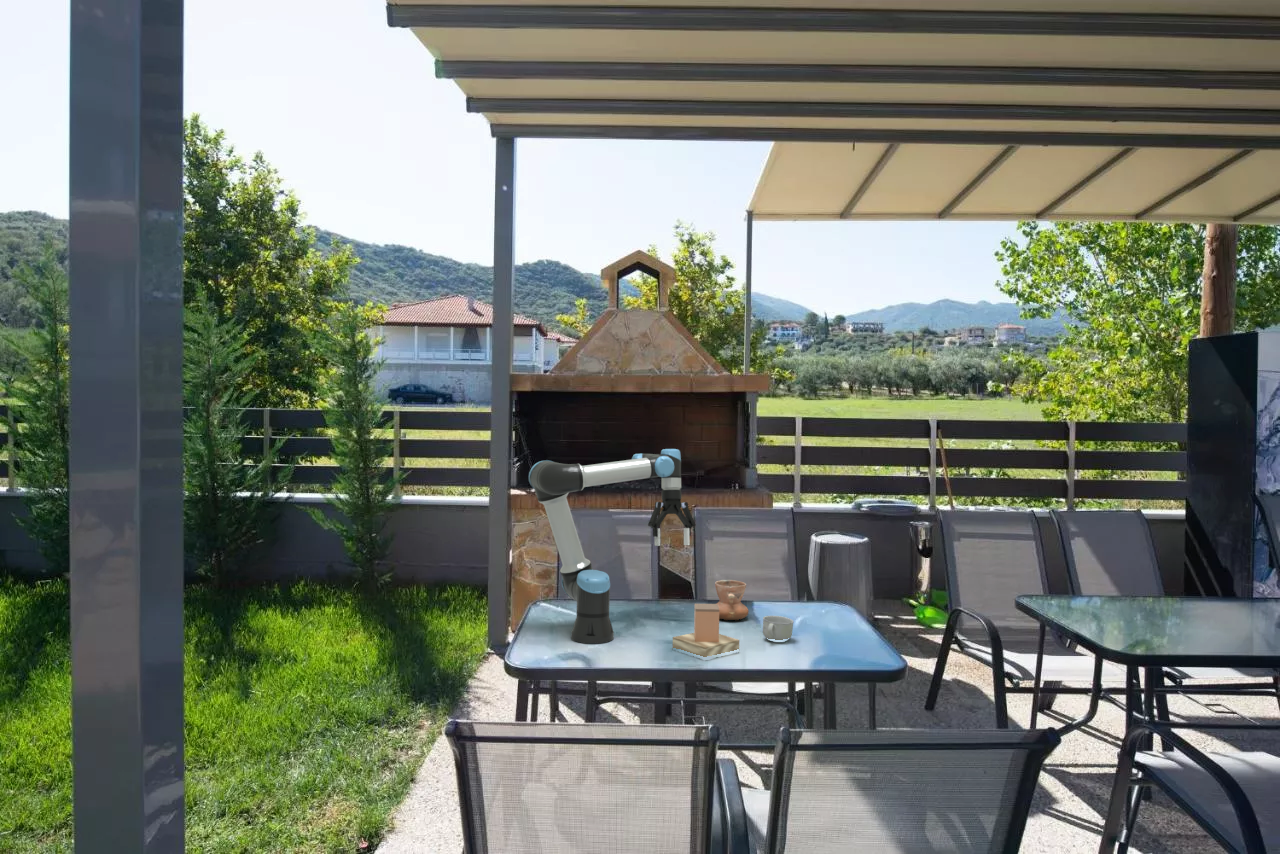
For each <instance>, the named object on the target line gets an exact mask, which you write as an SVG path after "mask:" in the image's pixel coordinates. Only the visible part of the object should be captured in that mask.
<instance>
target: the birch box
mask: <svg viewBox="0 0 1280 854" xmlns="http://www.w3.org/2000/svg"><path fill="white" fill-rule="evenodd" d="M673 648H676V649H681V650H684V651H687V652H690V653H693V654H696V655H700V656H703V657H707V656H712V655H717V654H721V653H725V652H730V651H734V650H737V649H739V650H740V639H738V638H734V637H731V636H727V635H724V634H721V633H719V642H695V639H694V632H691V633H687V634H682V635H681V634H680V635H676V636H673V637H672V649H673Z"/></svg>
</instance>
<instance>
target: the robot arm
mask: <svg viewBox="0 0 1280 854" xmlns="http://www.w3.org/2000/svg"><path fill="white" fill-rule="evenodd" d="M681 458H682V456H681V450H680V449H678V448H677V449H676V448H665V449H664V448H663V449H662V450H661V451H660V453H656V454H655V453H654V454H653V453H635V454H633V456H632V457H631V459H626V460H624V459H623V460H619V461H610V462H609V461H608V462H602V463H595V464H593V463H592V464H587V465H582V464H580V463H571V464H570V463H569V464H568V463H561V462H560V463H559V462H556V461H552V460H548V459H546V460H541V461H538V462H536V463H535V464H533V465H532V466H531V469H530V470H529V472H528V482H529V484H530V486H531V488H532V489H534V491H535V495H536V498H537V501H538V503H540V504H541V505H543V507H544V509H545V514H546V516H547V520H548V522H549V525H550V529H551V532H552V536H553V539H554V542H555V545H556V548H557V551H558V554H559V557H560V561H561V564H562V565H561V567H560V569H559V571H560V574H561V587H562V589H563V592H564V593H565V595H566V596H567V597H568V598H570V599H572V600H574V601H575V602H576V618H575V620H574V623H573V628H572V629H571V634H570V635H571V637H570V638H571V640H572V641H574V642H576V641H577V642H576V643H580V642H581V644H589V643H597V644H604V643H603V642H605V643H609V642H611V640H612V641H613V640H614V639H615V638H614V637H615V636H614V635H615V633H614V632H615V631H614V628H613V626H612V622H611V619H610V599H611V598H610V597H611V596H610V595H611V594H610V593H611V592H610V591H611V581H610V579H611V578H610V576H609V574H608V573H607V572H605V571H602V570H601V571H600V570H598V569H593V566H592V563H591V560H589V559H588V558H586V557H585V553H584V551H583V547H582V543H581V541H580V538H579V537H580V536H579V534H578V531H577V529H576V524H575V522H574V518H573V515H572V512H571V508H570V504H569V502H568V499H567V498H568V495H569V493H573V492H574V493H575V492H579V491H581V492H582V491H583V490H584V488H586V487H587V488H588V487H595V486H601V485H609V484H614V483H615V484H616V483H622V482H623V483H624V482H630V481H636V480H643V479H650V478H658V477H659V478H661V489H662V490H661V501H662V502H661V501H655V503H654V508H653V511H652V513H651V516H650V518H649V521H648V524H647V526H648V527H650V528H651V529H652V536H653V537H654V546H656V547H659V546H661V528H660V525H661V524H662V522H663V521H664V519H665V518H666V516H668V515H676V516H677V517H678V519H679V520H680V522H681V523H682V524H683V526H684V527H683V546H690V543H691V541H690V537H691V536H692V528H693V527H695V526H696V523H695V521H694V518H693V515H692V514H691V511H690V509H689V503H688V502H687V501H685V502H684V501H683V502H682V459H681ZM661 509H662V510H661ZM608 641H609V642H608Z"/></svg>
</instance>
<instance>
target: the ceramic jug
mask: <svg viewBox="0 0 1280 854" xmlns="http://www.w3.org/2000/svg"><path fill="white" fill-rule="evenodd" d="M714 585H715V591H716V594H717V597H718V599H719V601H718V602H717V603H715V604H718V607H719V620H722V619H724V620H723V621H728V620H735V621H740V620H742V619H745V618H746V617H747V616H749V609H748V607H747V606H746V605H745V604H743V603H742V602H741V601H742V600H743V597H744V594H745V591H746V588H747V583H746V582H743V581H740V580H735V579H721V580H717V581H715V583H714ZM739 619H740V620H739Z"/></svg>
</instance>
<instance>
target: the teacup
mask: <svg viewBox="0 0 1280 854" xmlns="http://www.w3.org/2000/svg"><path fill="white" fill-rule="evenodd" d="M762 621H763V622H762V633H763V634H762V635H763V637H764V638H765V639H767V638H768V639H775V640H783V639H788V638H790V639H791V638H792V636H793V629H794V620H793V619H791V618H789V617H786V616H782V615H781V616H780V615H766V616H763V618H762Z"/></svg>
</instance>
